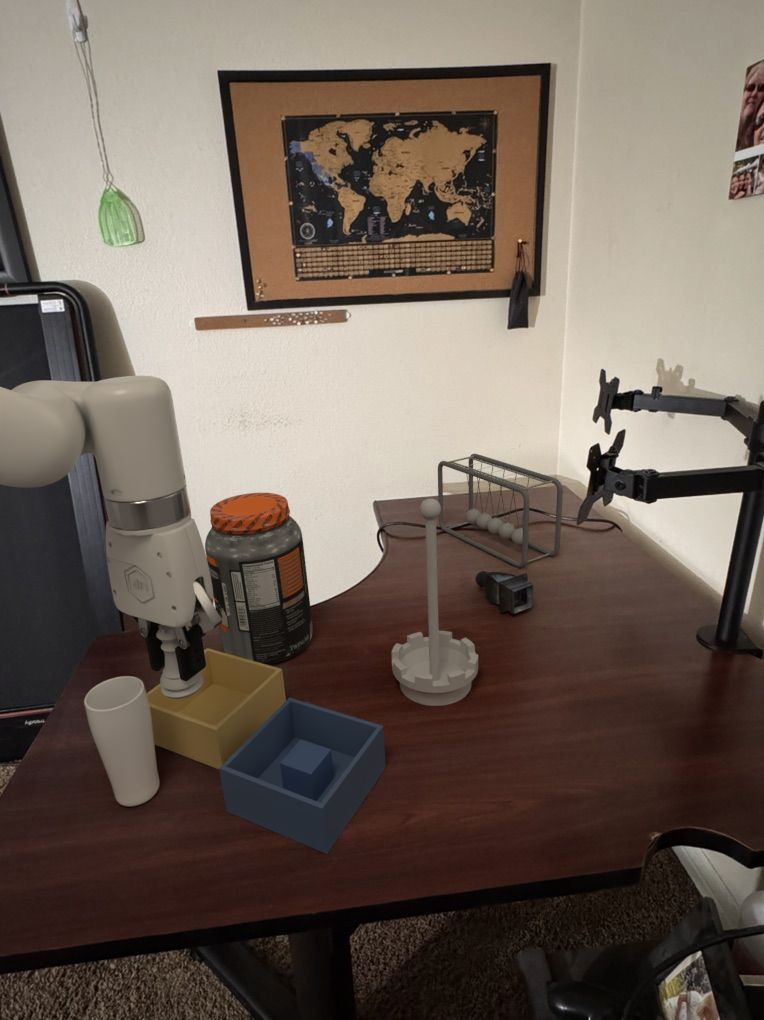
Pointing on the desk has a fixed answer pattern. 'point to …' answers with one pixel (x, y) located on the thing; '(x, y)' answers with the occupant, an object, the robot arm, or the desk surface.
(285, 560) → the supplement tub
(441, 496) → the newton's cradle
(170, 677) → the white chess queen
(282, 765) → the blue block
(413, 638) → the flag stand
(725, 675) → the desk surface
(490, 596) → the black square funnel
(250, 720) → the yellow bin
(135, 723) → the drinking glass
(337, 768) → the slate bin
